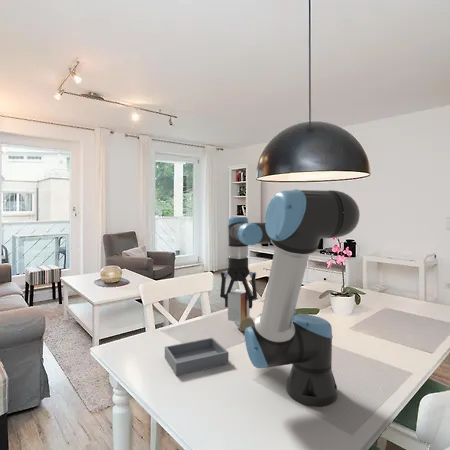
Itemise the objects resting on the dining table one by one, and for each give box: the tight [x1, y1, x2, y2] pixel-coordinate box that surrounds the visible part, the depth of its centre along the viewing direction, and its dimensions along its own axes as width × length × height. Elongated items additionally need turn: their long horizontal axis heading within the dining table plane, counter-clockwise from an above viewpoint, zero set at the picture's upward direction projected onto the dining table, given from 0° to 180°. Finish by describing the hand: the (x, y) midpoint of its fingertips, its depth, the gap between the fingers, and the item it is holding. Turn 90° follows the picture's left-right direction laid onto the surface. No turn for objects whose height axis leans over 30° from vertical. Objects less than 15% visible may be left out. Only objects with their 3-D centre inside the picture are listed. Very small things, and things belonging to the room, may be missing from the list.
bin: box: [164, 337, 230, 376], centre depth 121 cm, size 15×20×4 cm
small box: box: [227, 288, 248, 322], centre depth 126 cm, size 8×6×10 cm
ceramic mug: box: [233, 316, 255, 333], centre depth 152 cm, size 11×8×8 cm
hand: (238, 315), depth 126 cm, fingers closed on small box, 7 cm apart
